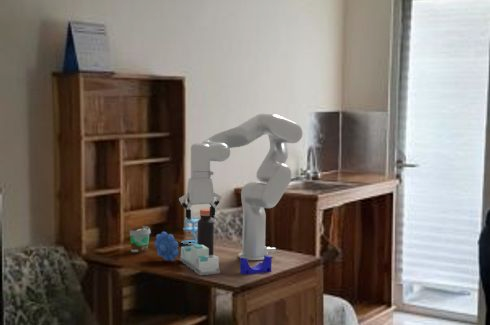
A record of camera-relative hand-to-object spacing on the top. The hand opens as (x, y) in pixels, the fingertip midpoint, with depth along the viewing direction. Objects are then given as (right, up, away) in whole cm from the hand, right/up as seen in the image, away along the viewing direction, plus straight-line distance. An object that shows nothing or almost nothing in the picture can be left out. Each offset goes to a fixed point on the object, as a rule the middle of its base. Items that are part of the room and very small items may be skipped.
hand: (200, 218), depth 281 cm
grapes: (-15, -19, +10) cm, 26 cm away
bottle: (+1, -18, +19) cm, 26 cm away
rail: (-1, -19, +2) cm, 19 cm away
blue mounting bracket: (+21, -21, -4) cm, 30 cm away
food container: (-26, -17, +27) cm, 41 cm away
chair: (-6, -15, +45) cm, 48 cm away
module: (0, -18, +2) cm, 18 cm away
